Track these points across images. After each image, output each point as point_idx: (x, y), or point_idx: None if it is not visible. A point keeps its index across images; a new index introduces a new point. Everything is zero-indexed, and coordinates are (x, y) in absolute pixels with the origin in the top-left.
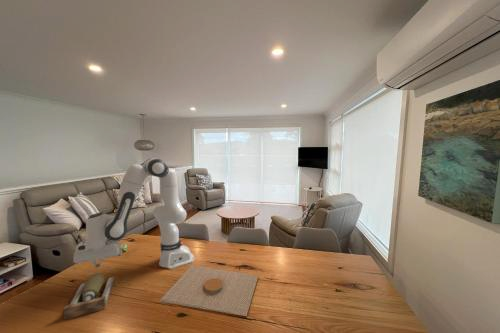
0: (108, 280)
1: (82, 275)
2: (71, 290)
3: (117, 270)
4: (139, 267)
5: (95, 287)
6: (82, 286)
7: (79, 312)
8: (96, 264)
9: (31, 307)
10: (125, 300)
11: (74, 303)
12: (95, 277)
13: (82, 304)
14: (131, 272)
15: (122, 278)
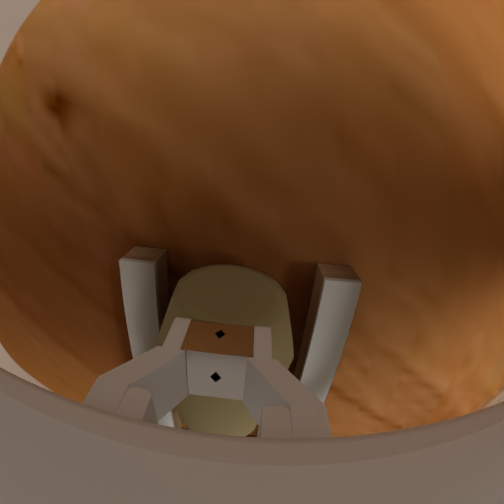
0: (320, 315)
1: (101, 50)
2: (83, 237)
3: (371, 93)
4: (498, 162)
5: (247, 433)
6: (139, 303)
7: None
8: (201, 395)
9: (4, 294)
10: (368, 431)
11: (167, 425)
12: (230, 407)
13: None
14: (458, 201)
15: (402, 254)
